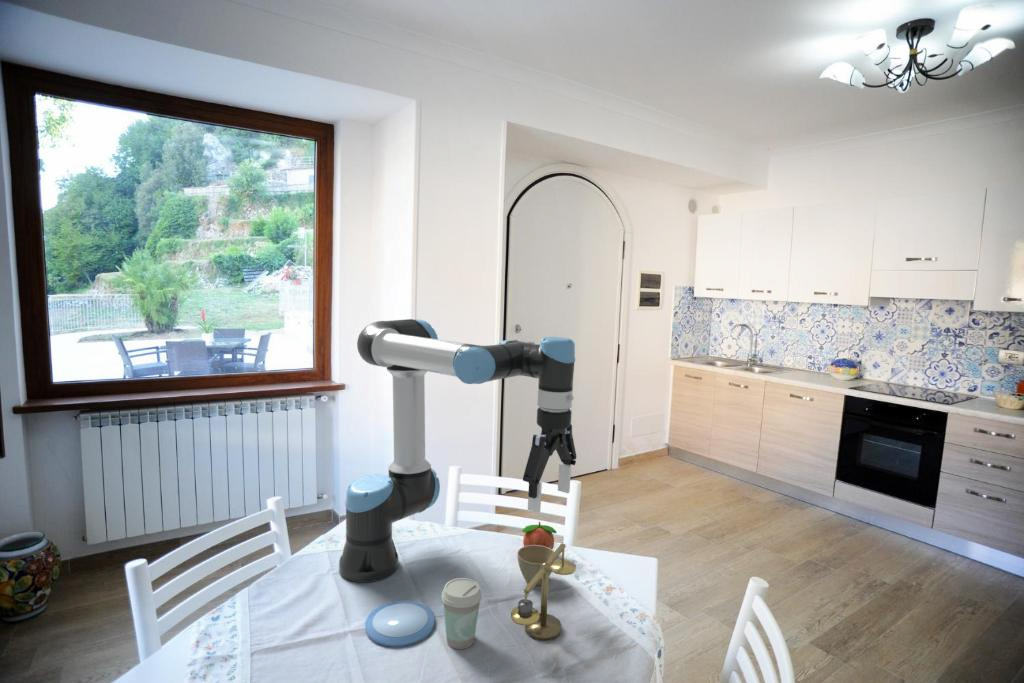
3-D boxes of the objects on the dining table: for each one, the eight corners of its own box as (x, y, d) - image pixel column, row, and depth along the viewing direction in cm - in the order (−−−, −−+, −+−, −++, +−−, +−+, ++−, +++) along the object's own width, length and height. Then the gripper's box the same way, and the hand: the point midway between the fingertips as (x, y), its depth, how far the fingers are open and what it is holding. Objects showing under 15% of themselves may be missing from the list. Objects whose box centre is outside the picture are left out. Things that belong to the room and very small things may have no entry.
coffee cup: (449, 658, 113) (450, 602, 112) (434, 633, 121) (435, 581, 119) (487, 646, 117) (488, 593, 116) (471, 623, 125) (472, 573, 123)
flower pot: (552, 593, 138) (553, 566, 137) (512, 587, 140) (513, 560, 139) (557, 573, 147) (558, 547, 147) (520, 567, 149) (521, 542, 149)
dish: (350, 628, 122) (350, 622, 121) (401, 597, 134) (401, 592, 134) (399, 656, 113) (399, 651, 113) (448, 620, 125) (448, 615, 125)
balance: (500, 647, 117) (502, 570, 115) (551, 600, 135) (555, 533, 133) (532, 663, 113) (535, 584, 111) (581, 612, 130) (585, 543, 128)
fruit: (523, 547, 161) (524, 514, 160) (556, 550, 159) (558, 517, 158) (519, 562, 152) (521, 527, 151) (554, 565, 151) (556, 530, 150)
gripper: (540, 422, 110) (535, 525, 112) (594, 401, 131) (588, 488, 133) (509, 416, 114) (504, 515, 116) (565, 396, 135) (560, 480, 137)
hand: (549, 500), depth 125 cm, fingers open, 13 cm apart
